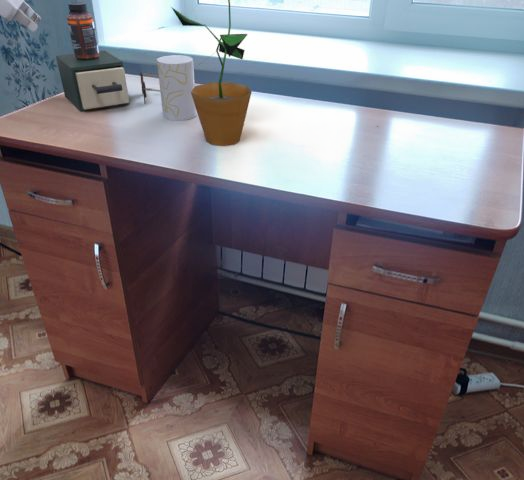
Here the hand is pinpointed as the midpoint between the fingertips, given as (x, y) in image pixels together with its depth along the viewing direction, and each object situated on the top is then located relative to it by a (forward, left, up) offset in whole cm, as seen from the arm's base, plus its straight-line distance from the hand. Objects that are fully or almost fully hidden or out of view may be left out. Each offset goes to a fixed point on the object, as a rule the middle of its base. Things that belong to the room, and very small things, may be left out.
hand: (37, 25), depth 118 cm
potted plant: (+24, -45, -17) cm, 54 cm away
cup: (+23, -25, -17) cm, 38 cm away
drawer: (+9, -9, -16) cm, 20 cm away
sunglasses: (+27, -11, -17) cm, 34 cm away
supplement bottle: (+9, -3, -7) cm, 12 cm away
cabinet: (+9, -4, -17) cm, 19 cm away
